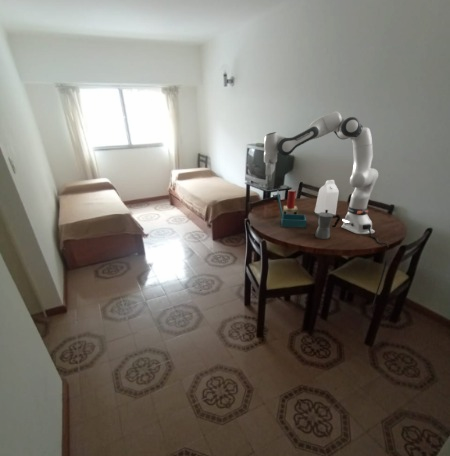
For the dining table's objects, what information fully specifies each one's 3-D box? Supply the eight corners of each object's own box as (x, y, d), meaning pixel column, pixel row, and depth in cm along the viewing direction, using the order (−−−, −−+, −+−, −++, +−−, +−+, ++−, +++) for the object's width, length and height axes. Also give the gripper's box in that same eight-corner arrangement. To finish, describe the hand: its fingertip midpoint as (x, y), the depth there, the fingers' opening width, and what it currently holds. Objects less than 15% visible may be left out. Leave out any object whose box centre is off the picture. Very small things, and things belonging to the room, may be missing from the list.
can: (295, 208, 208) (297, 190, 202) (288, 209, 207) (290, 191, 201) (292, 206, 213) (294, 189, 207) (285, 206, 212) (287, 189, 206)
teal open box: (303, 222, 205) (304, 214, 202) (305, 228, 193) (306, 220, 191) (281, 221, 207) (282, 213, 204) (281, 227, 196) (282, 219, 193)
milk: (326, 210, 228) (332, 178, 216) (335, 214, 219) (342, 181, 206) (314, 212, 225) (319, 179, 212) (323, 216, 216) (328, 182, 203)
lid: (278, 190, 197) (271, 191, 198) (278, 194, 185) (271, 196, 187) (282, 213, 204) (276, 214, 205) (282, 218, 193) (276, 220, 194)
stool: (295, 215, 217) (296, 206, 214) (296, 220, 209) (297, 209, 205) (282, 215, 219) (283, 205, 215) (283, 219, 210) (284, 209, 206)
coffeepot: (311, 237, 179) (315, 211, 170) (312, 232, 186) (316, 206, 177) (336, 241, 173) (341, 213, 165) (336, 235, 181) (342, 209, 172)
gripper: (273, 161, 175) (272, 183, 181) (276, 157, 192) (276, 178, 198) (263, 161, 176) (263, 183, 182) (267, 157, 194) (267, 178, 200)
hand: (269, 180), depth 191 cm, fingers closed
